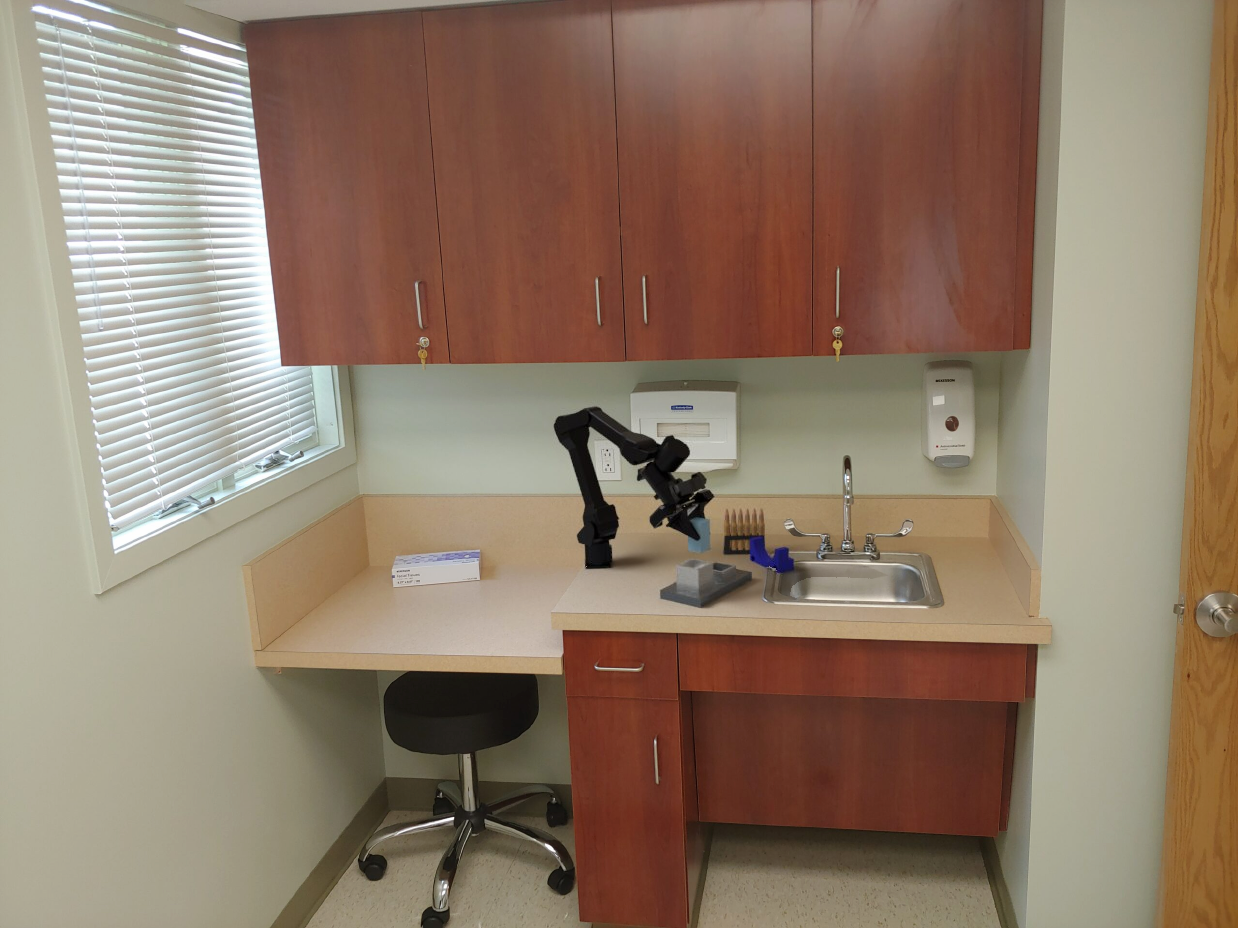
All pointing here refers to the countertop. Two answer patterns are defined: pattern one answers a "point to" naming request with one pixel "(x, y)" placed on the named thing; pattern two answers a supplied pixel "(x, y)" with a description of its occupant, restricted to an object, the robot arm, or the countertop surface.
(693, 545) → the plug
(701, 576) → the grey peg holder base
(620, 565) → the countertop surface
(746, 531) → the ammunition clip
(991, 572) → the countertop surface
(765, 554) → the cable clip
